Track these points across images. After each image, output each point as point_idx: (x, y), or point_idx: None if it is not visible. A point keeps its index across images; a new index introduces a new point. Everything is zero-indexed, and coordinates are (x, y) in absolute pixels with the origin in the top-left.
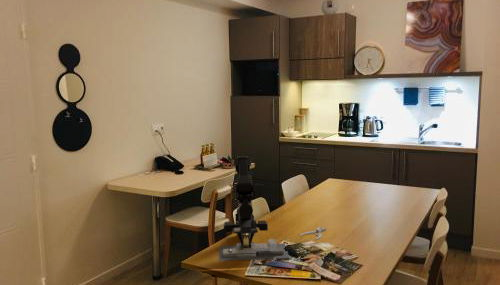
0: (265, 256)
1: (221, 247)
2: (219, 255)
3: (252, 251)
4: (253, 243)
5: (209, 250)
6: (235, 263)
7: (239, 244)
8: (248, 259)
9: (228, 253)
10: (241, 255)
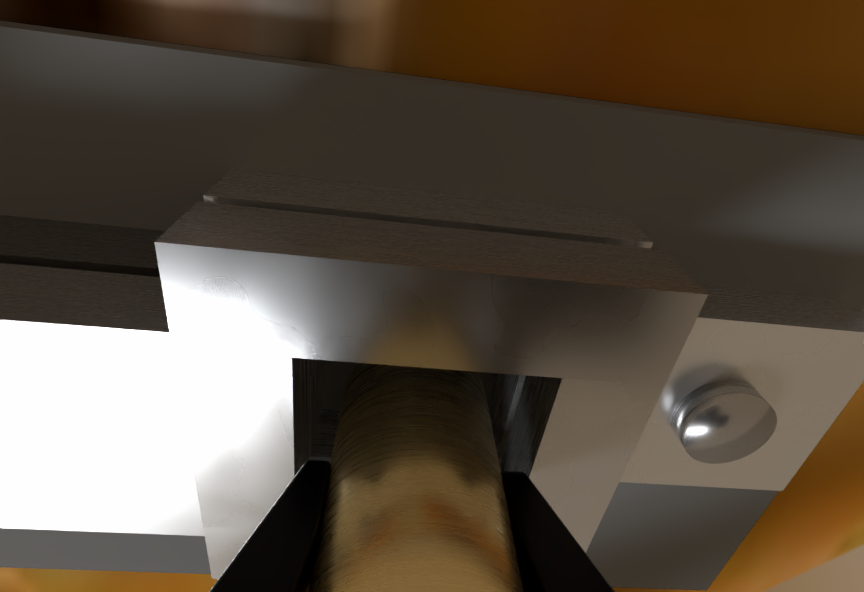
0: (17, 160)
1: (697, 564)
2: None
3: (280, 228)
4: (238, 544)
5: (831, 535)
6: (704, 31)
7: None
8: (413, 83)
9: (797, 324)
10: (551, 222)
